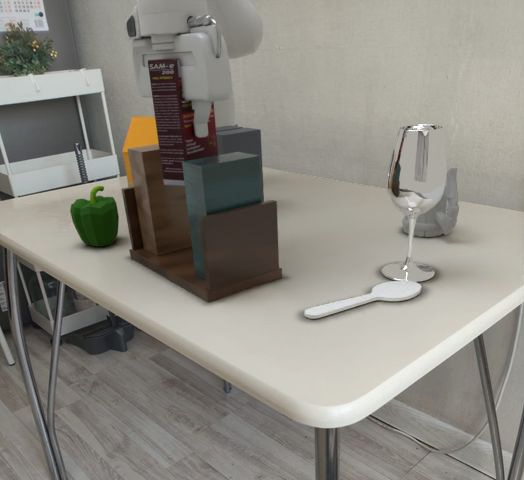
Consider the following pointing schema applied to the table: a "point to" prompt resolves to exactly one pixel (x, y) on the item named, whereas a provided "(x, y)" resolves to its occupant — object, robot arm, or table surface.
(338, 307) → the spoon
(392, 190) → the wineglass
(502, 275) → the table surface
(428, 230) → the grey curved piece
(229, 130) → the grey books
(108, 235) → the bell pepper
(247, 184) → the book rack
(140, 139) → the orange juice
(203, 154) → the supplement box
